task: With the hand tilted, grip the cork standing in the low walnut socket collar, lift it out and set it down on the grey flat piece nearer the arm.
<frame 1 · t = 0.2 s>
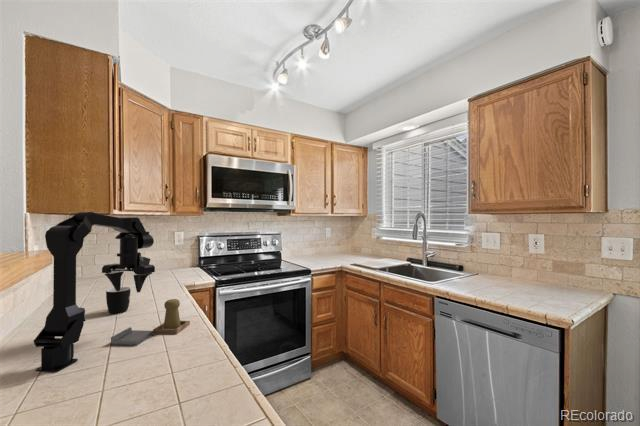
hand: (128, 291, 109), 14 cm above the countertop, tool pointing down, fingers open, 9 cm apart
grey flat piece: (133, 339, 99), on the countertop
mug: (117, 311, 130), on the countertop
socket collar: (172, 328, 108), on the countertop
cork: (172, 329, 108), resting in socket collar
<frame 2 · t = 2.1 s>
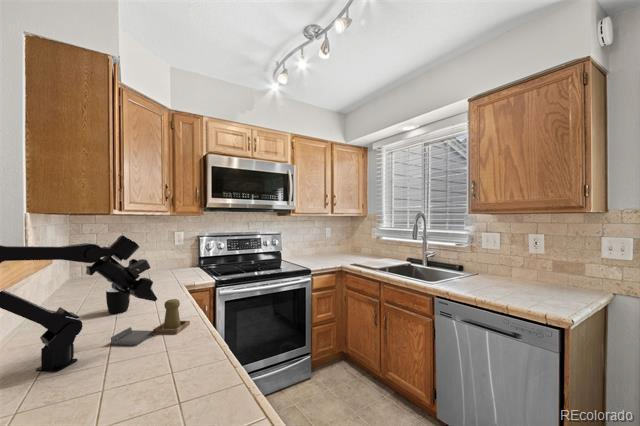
hand: (149, 298, 102), 13 cm above the countertop, tool tilted 45°, fingers open, 9 cm apart
nothing on the countertop moved.
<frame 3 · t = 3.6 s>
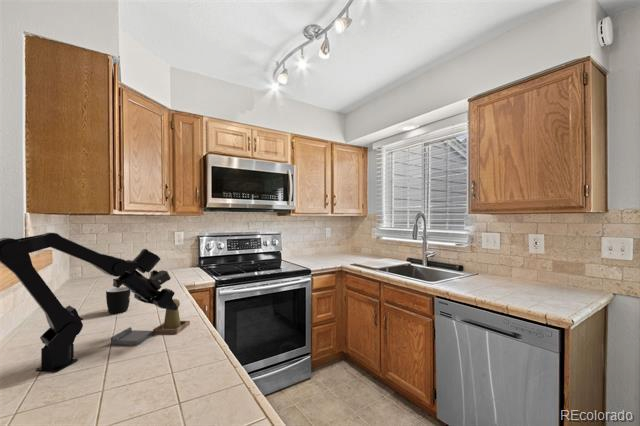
hand: (170, 307, 108), 8 cm above the countertop, tool tilted 45°, fingers open, 9 cm apart
nothing on the countertop moved.
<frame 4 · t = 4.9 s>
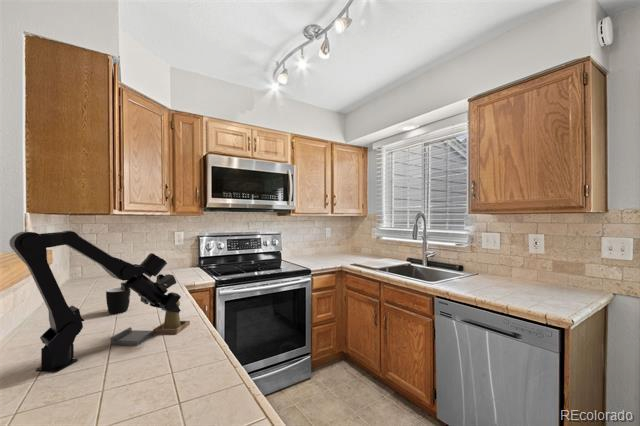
hand: (175, 310, 110), 7 cm above the countertop, tool tilted 45°, fingers closed on cork, 5 cm apart
cork: (172, 329, 108), resting in socket collar, touching gripper
everything else where it was.
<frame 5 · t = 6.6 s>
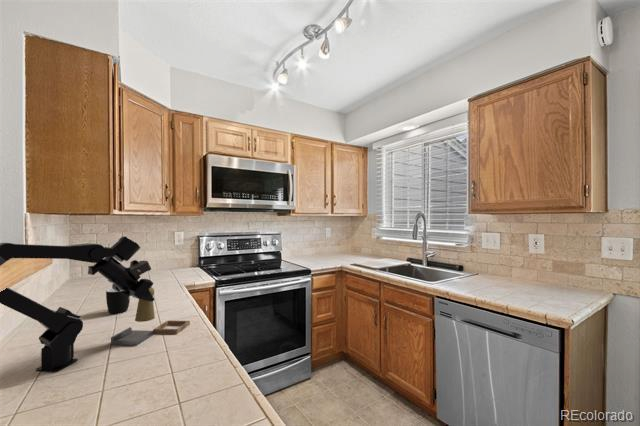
hand: (149, 299, 103), 13 cm above the countertop, tool tilted 45°, fingers closed on cork, 5 cm apart
cork: (145, 319, 102), point 6 cm above the countertop, touching gripper
everything else where it was.
when the fingers open (9 cm above the countertop, at t = 8.3 s): cork stays where it is, resting on grey flat piece.
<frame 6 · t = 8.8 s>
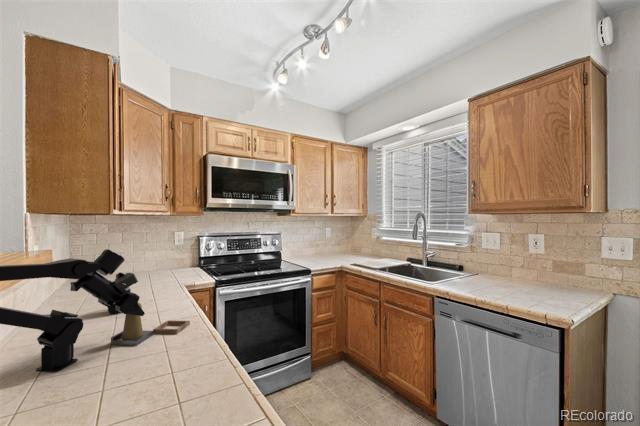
hand: (137, 312, 100), 9 cm above the countertop, tool tilted 45°, fingers open, 9 cm apart
cork: (132, 336, 99), point 1 cm above the countertop, touching grey flat piece
everything else where it was.
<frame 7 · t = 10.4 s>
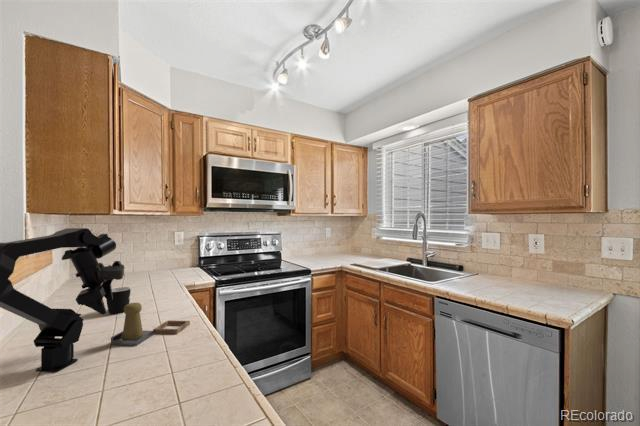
hand: (107, 306, 95), 13 cm above the countertop, tool tilted 20°, fingers open, 9 cm apart
nothing on the countertop moved.
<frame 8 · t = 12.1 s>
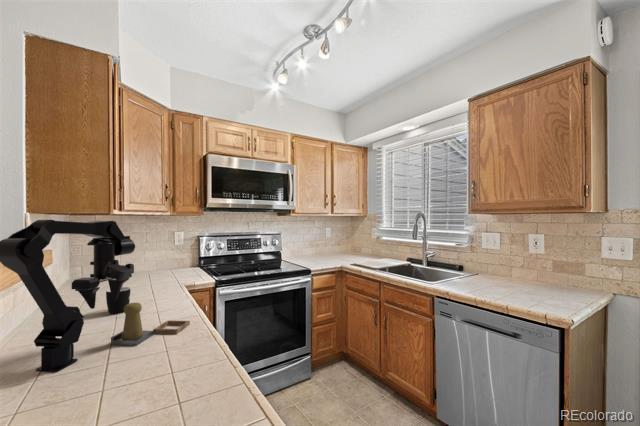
hand: (104, 304, 97), 13 cm above the countertop, tool pointing down, fingers open, 9 cm apart
nothing on the countertop moved.
at the end: cork inside the target area on the grey flat piece (0.1 cm from its centre), point 1.3 cm above the grey flat piece's base; cork tilted 0°; the gripper is holding nothing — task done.
